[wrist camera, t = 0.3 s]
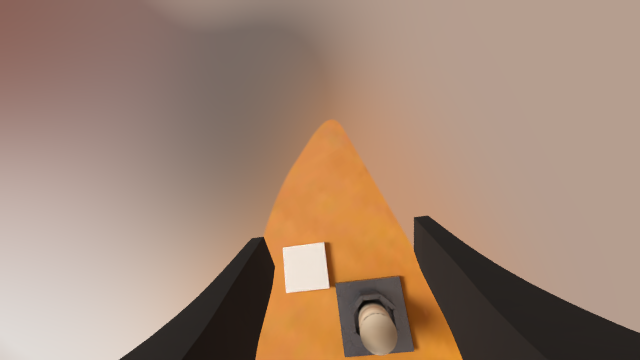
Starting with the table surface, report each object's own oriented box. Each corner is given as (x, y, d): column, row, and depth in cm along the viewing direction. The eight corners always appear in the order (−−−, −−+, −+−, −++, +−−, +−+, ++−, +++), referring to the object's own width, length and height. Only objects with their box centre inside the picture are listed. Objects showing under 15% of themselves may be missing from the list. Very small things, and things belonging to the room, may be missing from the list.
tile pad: (329, 286, 37) (329, 288, 36) (287, 291, 37) (286, 292, 36) (324, 242, 39) (323, 242, 38) (284, 247, 39) (282, 247, 38)
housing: (412, 348, 33) (419, 360, 30) (344, 354, 34) (344, 366, 31) (398, 275, 36) (402, 279, 33) (335, 282, 37) (334, 286, 34)
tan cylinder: (390, 330, 33) (401, 353, 27) (360, 333, 34) (363, 356, 27) (384, 298, 35) (393, 312, 28) (355, 301, 35) (357, 315, 28)
